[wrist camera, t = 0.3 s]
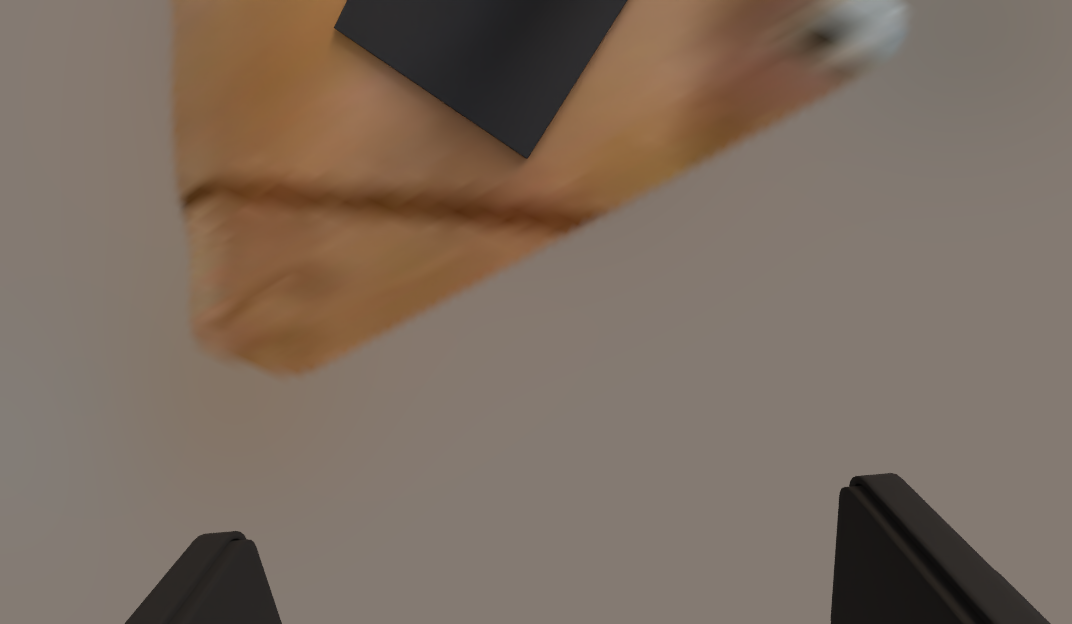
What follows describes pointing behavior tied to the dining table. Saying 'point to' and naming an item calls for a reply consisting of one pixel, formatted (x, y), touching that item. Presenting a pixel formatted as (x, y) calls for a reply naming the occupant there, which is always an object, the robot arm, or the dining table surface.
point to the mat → (487, 54)
